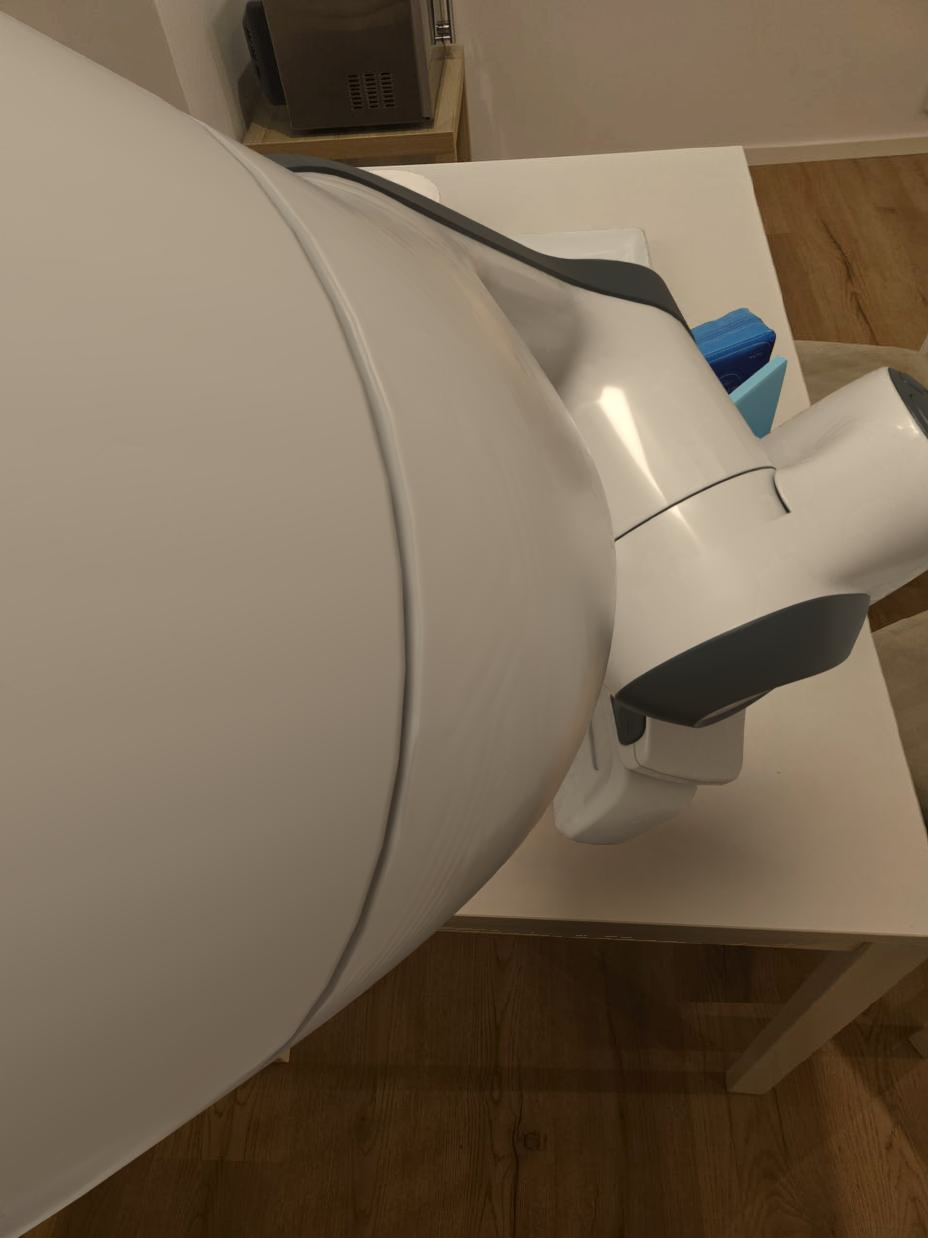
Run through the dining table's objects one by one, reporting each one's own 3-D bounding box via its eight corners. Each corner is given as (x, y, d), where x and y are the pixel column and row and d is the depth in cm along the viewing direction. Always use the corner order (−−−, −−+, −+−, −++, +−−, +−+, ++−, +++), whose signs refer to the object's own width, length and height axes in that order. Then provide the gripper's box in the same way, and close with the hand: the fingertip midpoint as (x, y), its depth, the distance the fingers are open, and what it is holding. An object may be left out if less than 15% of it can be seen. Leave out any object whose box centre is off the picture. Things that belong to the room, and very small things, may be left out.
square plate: (668, 370, 100) (672, 344, 97) (449, 385, 102) (446, 359, 99) (642, 247, 116) (644, 221, 113) (452, 261, 118) (449, 236, 115)
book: (630, 530, 87) (650, 380, 70) (604, 498, 89) (617, 346, 73) (742, 482, 89) (787, 325, 73) (714, 452, 92) (750, 295, 76)
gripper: (596, 447, 47) (472, 565, 57) (650, 793, 36) (486, 862, 46) (677, 481, 49) (545, 587, 60) (748, 810, 39) (573, 871, 49)
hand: (519, 710), depth 53 cm, fingers open, 8 cm apart
